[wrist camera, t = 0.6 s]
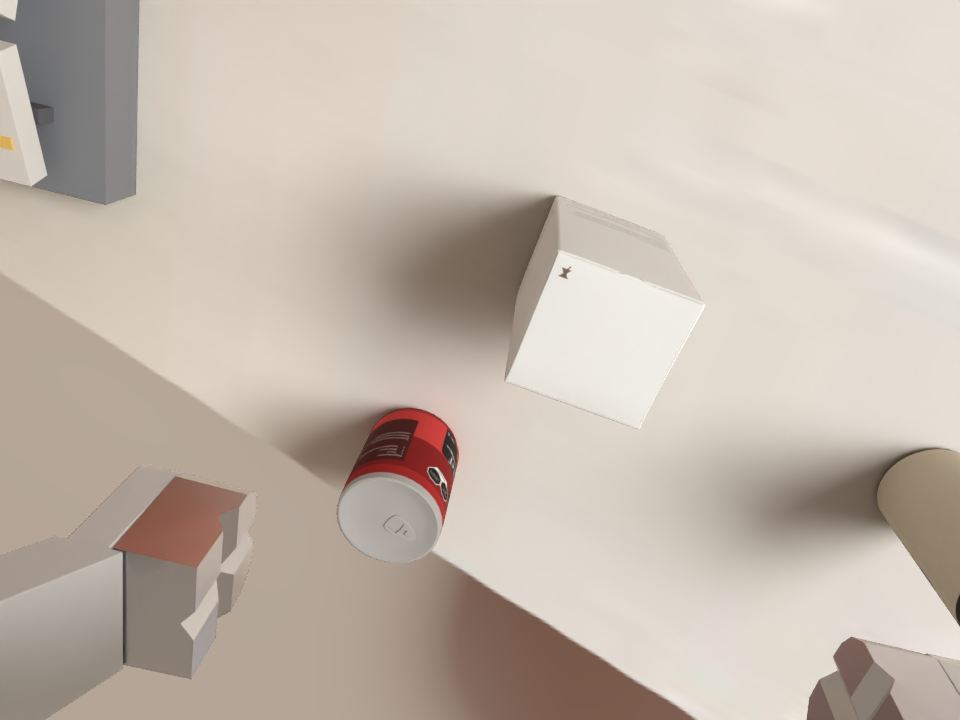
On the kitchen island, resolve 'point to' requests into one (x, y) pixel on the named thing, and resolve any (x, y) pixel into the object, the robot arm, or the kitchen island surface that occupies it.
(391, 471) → the canned food
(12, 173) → the block
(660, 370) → the supplement box
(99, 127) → the console
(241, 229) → the kitchen island surface
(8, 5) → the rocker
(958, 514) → the travel mug
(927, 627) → the kitchen island surface
